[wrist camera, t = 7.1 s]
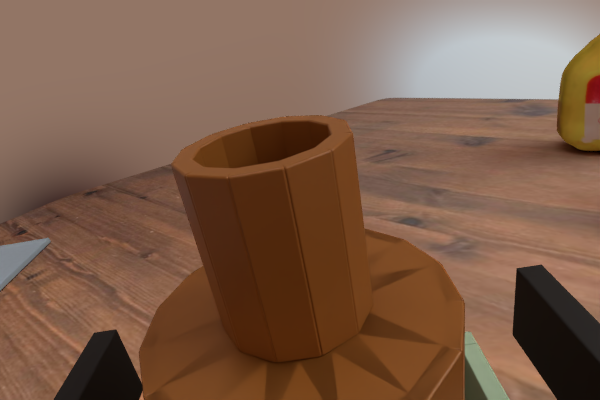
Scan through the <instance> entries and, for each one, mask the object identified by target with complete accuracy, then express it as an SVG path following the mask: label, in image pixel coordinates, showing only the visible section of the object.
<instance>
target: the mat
mask: <svg viewBox="0 0 600 400" xmlns="http://www.w3.org/2000/svg"><path fill="white" fill-rule="evenodd" d="M50 242H51V241H50V239H49V238H45V239H39V240H33V241H27V242H21V243H15V244H9V245H3V246H0V291H1V290H2V289H3V288H4V287H5V286H6V285H7V284H8V283H9V282H10V281H11V280H12V279H13V278H14V277H15V276H16V275H17V274H18V273H19V272H20V271H21V270H22V269H23V268H24V267H25V266H26V265H27V264H28V263H29V262H30V261H32V260H33V259H34V258H35V257H36V256H37V255H38V254H39V253H40V252H41V251H42V250H43V249H44V248H45V247H46V246H47V245H48V244H49V243H50Z"/></svg>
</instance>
